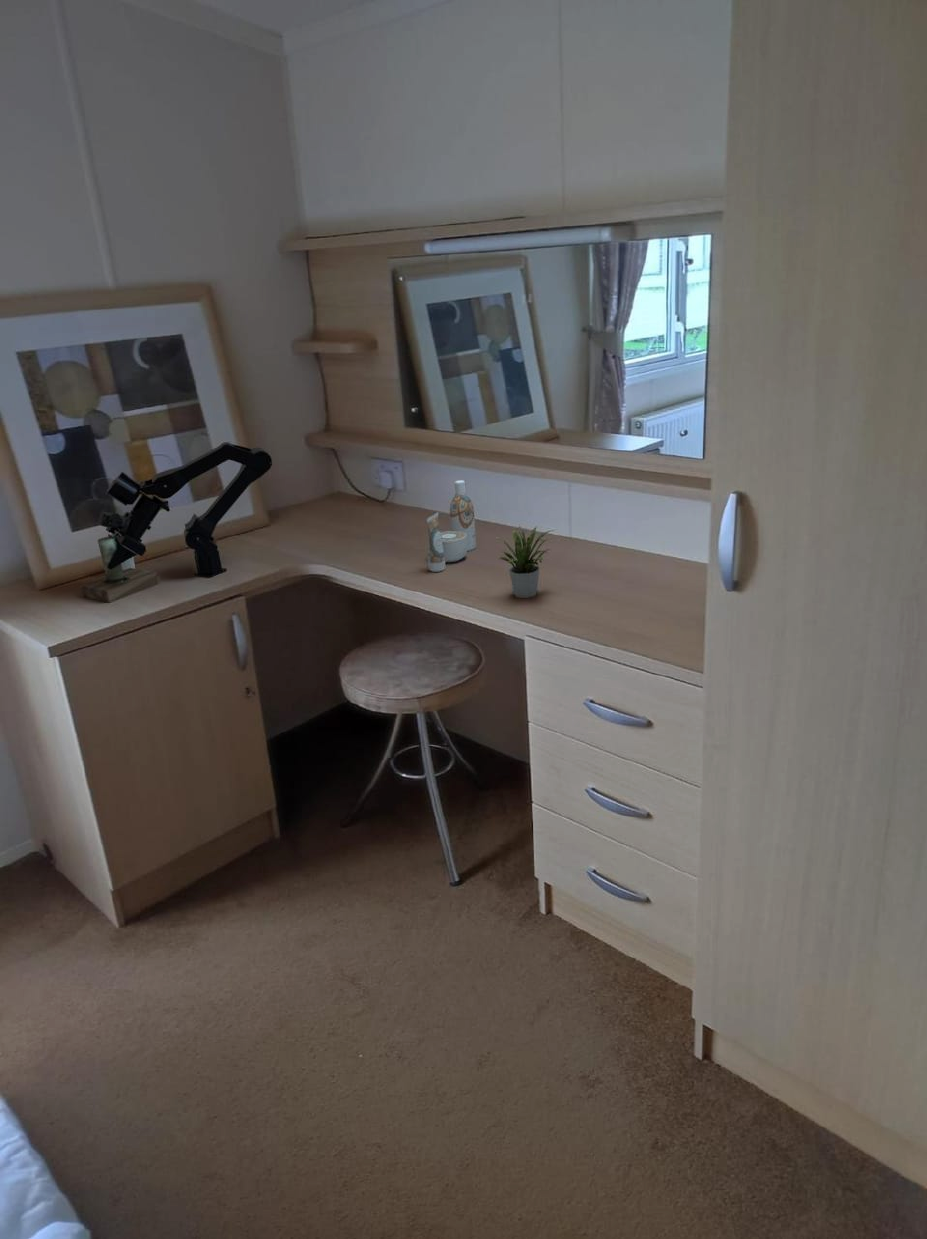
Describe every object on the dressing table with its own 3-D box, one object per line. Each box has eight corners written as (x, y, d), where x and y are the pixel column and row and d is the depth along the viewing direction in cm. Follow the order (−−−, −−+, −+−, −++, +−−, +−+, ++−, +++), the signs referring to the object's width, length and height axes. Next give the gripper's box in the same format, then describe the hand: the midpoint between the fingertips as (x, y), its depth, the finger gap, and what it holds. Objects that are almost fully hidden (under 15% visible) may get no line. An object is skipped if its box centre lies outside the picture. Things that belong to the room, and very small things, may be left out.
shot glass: (110, 577, 242) (104, 552, 239) (112, 569, 248) (107, 545, 245) (136, 573, 243) (131, 549, 241) (138, 566, 249) (133, 542, 247)
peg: (130, 589, 230) (119, 537, 225) (116, 594, 227) (104, 542, 222) (120, 586, 233) (108, 535, 227) (106, 592, 229) (93, 540, 224)
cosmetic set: (448, 575, 224) (442, 503, 217) (415, 573, 227) (408, 501, 220) (484, 545, 245) (480, 478, 238) (453, 544, 248) (448, 478, 241)
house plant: (573, 592, 206) (572, 524, 200) (534, 609, 198) (531, 539, 191) (528, 580, 216) (525, 515, 210) (488, 596, 207) (484, 529, 201)
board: (158, 583, 233) (156, 573, 232) (109, 602, 222) (107, 591, 221) (132, 578, 239) (130, 567, 238) (83, 596, 228) (80, 585, 227)
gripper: (106, 492, 230) (71, 542, 229) (122, 505, 215) (85, 558, 214) (143, 515, 237) (110, 564, 236) (161, 529, 222) (125, 581, 221)
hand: (107, 566), depth 227 cm, fingers closed on peg, 4 cm apart
